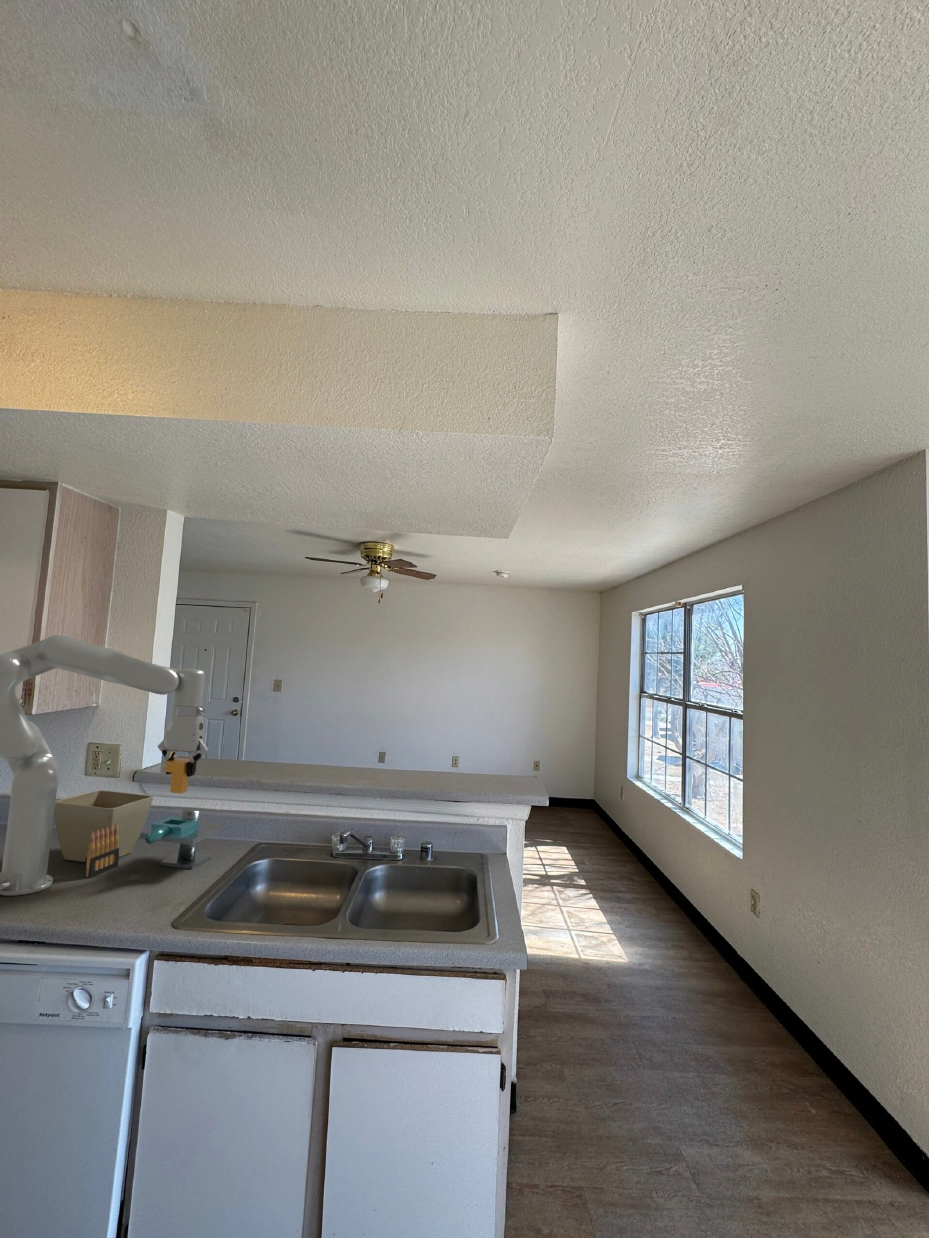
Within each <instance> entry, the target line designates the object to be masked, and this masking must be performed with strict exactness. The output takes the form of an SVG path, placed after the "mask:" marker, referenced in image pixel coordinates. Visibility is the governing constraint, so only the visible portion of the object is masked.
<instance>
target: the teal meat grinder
mask: <svg viewBox="0 0 929 1238" xmlns="http://www.w3.org/2000/svg"><path fill="white" fill-rule="evenodd" d="M200 814H201V810H200V809H199V808H193V807H192V808H191V807H189V808H184V809H183V810H182V813H181V817H179V816H172V815H171V816H169V817H168V816H167V817H166V818H163V819H160V820H158V821H156V822H153V823H151V826H150V829H147V830H144V831H141V833H140V835H139V838H138V840H139V839H141V840H145V843H146V844H148V845H151V844H154V843H156V842H158V841H159V842H165V843H173V844H174V843H175V844H178V849H177V853H174V854H172V855H171V856H168V857H166V858H165V859H163V860H160V862H159V866H164V867H171V866H172V867H173V868H180V869H188V870H193V869H195V868H197V867H198V865H199V866H200V865H202V864H204V863H205V862H207V861H209V860H210V858H211V859H212V855H211V854H206V853H205V854H204V853H198V852H197V845H198V844H197V843H199V842H201V841H203V840H205V839H207V838H209V837H211V836H213V835H215V834H217V833H219V832H220V831H223V830H225V828H226V823H225V822H224V823H222V822H214V821H205V820H200V816H201V815H200ZM208 859H209V860H208ZM203 862H204V863H203ZM196 866H197V867H196Z"/></svg>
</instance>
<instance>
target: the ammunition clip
mask: <svg viewBox="0 0 929 1238" xmlns="http://www.w3.org/2000/svg"><path fill="white" fill-rule="evenodd" d="M118 841H119V838H118V824H116V826H115V829H114V828H113V825H112V827H111V828H110V831H109V828H108V826H107V827H106V829H105V833H104V829H103V828H102V829H101V831H100V836H99V830H97V831H96V834H95V836H94V832H93V831H92V833H91V835H90V841H89V846H88V853H87V857H86V860H85V862H84V870H83V878H87V879H91V878H93V877H95V876H98V875H100V874H102V873H105V872H107V871H110V870H112V869H114V868H116V867H118V866H119V860H120V859H119V858H120V857H119V848H118Z"/></svg>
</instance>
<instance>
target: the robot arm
mask: <svg viewBox="0 0 929 1238" xmlns="http://www.w3.org/2000/svg"><path fill="white" fill-rule="evenodd" d="M55 669H59V670H62V671H63V670H64V671H67V672H71V673H75V674H79V675H82V676H86V677H89V678H92V679H93V678H94V679H98V680H100V681H104V682H108V683H112V684H113V683H114V684H117V685H121V686H122V685H123V686H127V687H129V688H134V689H136V690H141V691H144V692H149V693H152V694H156V695H161V696H162V695H163V696H164V695H166V696H167V695H169V694H171V693H173V692H174V697H173V708H172V713H171V715H169V718H168V722H167V725H166V729H165V735H164V739H163V740H161V742H160V743H159V744H158V745H157V748H158V750H159V751H160V752H161V754H162V756H163V757H164V760H165V761H168V760H172V759H175V757H176V755H177V752H183V753H187V754H188V759H189V760H190V762H189V763H188V766H187V773H186V776H187V777H188V778H189V777H190V778H191V777H193V776H195V773H196V772H197V767H196V764H198V762H199V760H201V758H203V757H204V756H205V755H206V754H207V753H208V752H209V751H210V750H209V748H208V747H207V745H206V744H205V730H206V729H205V719H204V717H203V716H202V714H203V715H204V714H205V713H206V709H205V708H203V706H202V705H203V696H204V688H205V680H206V679H205V678H206V677H205V676H206V674H205V671H204V670H203V669H199V668H198V669H197V668H174V667H168V666H164V665H163V666H162V665H158V664H154V663H151V662H148V661H145V660H141V659H138V658H135V657H131V656H130V655H127V654H124V653H122V652H120V651H117V650H115V649H112V648H108V647H105V646H101V645H98V644H93V643H90V642H87V641H84V640H81V639H77V638H74V637H69V636H67V635H63V634H55V635H51V636H48V637H46V638H44V639H42V640H39V641H37V642H33V643H31V644H28V645H26V646H23V647H19V648H17V649H14V650H11V651H8V652H7V651H6V652H4V653H0V757H1V759H4V760H5V761H6V763H7V764H8V766H9V769H10V770H11V772H12V774H13V778H12V783H11V788H10V789H11V790H10V800H9V801H10V802H9V809H8V817H7V818H8V819H7V827H6V835H5V843H4V851H3V859H2V864H1V865H2V866H1V872H0V896H1V895H2V896H20V895H21V896H23V895H29V894H33V893H34V894H35V893H37V892H42V891H43V890H45V889H48V888H49V887H50V886H52V884H53V882H54V878H53V876H51V875H49V874H47V873H48V867H49V866H48V865H49V858H50V849H51V843H52V842H51V841H52V840H51V839H52V833H53V824H54V808H55V801H57V800H56V799H57V792H58V786H59V778H60V776H59V775H60V774H59V772H60V770H59V766H58V762H57V761H56V759H55V757H54V755H53V753H52V751H51V749H50V747H49V745H48V743H47V741H46V739H45V737H44V736H43V733H42V732H41V730H40V728H39V727H38V726H37V724H35V723H34V722H32V721H30V720H29V719H28V717H27V715H26V713H25V710H24V709H23V707H22V704H21V703H20V700H18V696H17V694H16V688H17V686H18V685H19V684H20V683H22V682H24V681H27V680H29V679H31V678H35V677H37V676H39V675H42V674H45V673H47V672H49V671H53V670H55ZM165 775H172V772H165Z"/></svg>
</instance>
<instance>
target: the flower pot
mask: <svg viewBox="0 0 929 1238" xmlns="http://www.w3.org/2000/svg"><path fill="white" fill-rule="evenodd" d="M153 799H154V796H153V795H149V794H148V795H146V794H141V793H140V794H139V793H133V792H132V793H131V792H121V791H113V790H103V789H99V790H94V791H90V792H86V793H82V794H78V795H74V796H71V797H66V798H62V799H59V800H55V808H54V816H53V818H54V823H55V830H56V834H57V839H58V844H59V847H60V851H61V853H62V857H63V859H64V860H67V861H73V862H80V863H85V860H86V857H87V853H88V846H89V841H90V835H91V833H92V831H93V832H94V836H95V834H96V831H97V830H99V836H100V831H101V829H102V828H103V829H104V833H105V829H106V827H107V826H108V828H109V831H110V828H111V827H112V825H113V828H114V829H115V826H116V824H118V838H119V841H118V848H119V858H122V857H124V856H126V855H129V854H131V853H132V851H133V849H134V848H135V845H136V844H137V841H138V840H139V838H140V833H141V832H143V831H142V830H143V829H144V826H145V824H146V821H147V818H148V815H149V813H150V810H151V807H152V804H153Z"/></svg>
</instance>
